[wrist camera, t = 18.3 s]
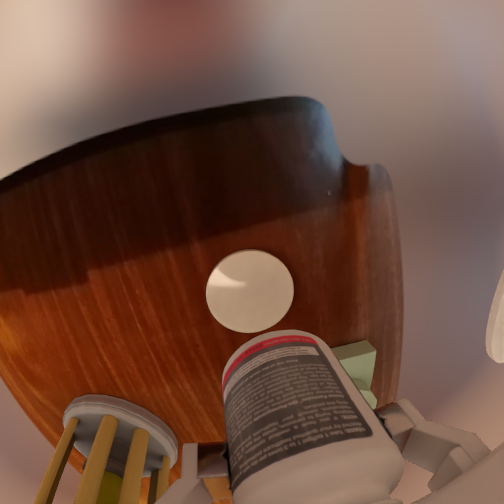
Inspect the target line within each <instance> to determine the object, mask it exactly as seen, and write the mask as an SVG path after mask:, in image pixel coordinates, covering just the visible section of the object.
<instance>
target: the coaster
mask: <svg viewBox="0 0 504 504" xmlns="http://www.w3.org/2000/svg"><path fill="white" fill-rule="evenodd" d="M293 294H294V286H293V281H292V277H291V275H290V273H289V271H288V269H287V268H286V266H285V265H284V264H283V263H282V262H281V261H280V260H279V259H278V258H277V257H275V256H274V255H272V254H270V253H268V252H265V251H261V250H254V249H248V250H241V251H237V252H234V253H232V254H230V255H228V256H226V257H225V258H223V259H222V260H221V261H220V262H219V263H218V264H217V265H216V266H215V267H214V269H213V270H212V272H211V274H210V276H209V278H208V281H207V286H206V300H207V304H208V307H209V309H210V311H211V313H212V315H213V316H214V317H215V319H216V320H217V321H218V322H219V323H221V324H222V325H223V326H225V327H227V328H229V329H231V330H234V331H237V332H243V333H252V332H259V331H262V330H265V329H267V328H270V327H271V326H273V325H275V324H276V323H277V322H279V321H280V320H281V319H282V318H283V317H284V315H285V314H286V313H287V311H288V309H289V307H290V305H291V303H292V299H293Z"/></svg>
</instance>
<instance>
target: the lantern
mask: <svg viewBox="0 0 504 504" xmlns="http://www.w3.org/2000/svg"><path fill="white" fill-rule="evenodd" d="M63 425H64V428H65V430H64V432H63V434H62V437H61V439H60V441H59V443H58V445H57V448H56V450H55V452H54V454H53V457H52V459H51V461H50V464H49V466H48V469H47V471H46V473H45V476H44V478H43V481H42V483H41V486H40V488H39V491H38V493H37V496H36V499H35V502H34V504H52V501H53V498H54V496H55V492H56V489H57V487H58V484H59V481H60V478H61V475H62V473H63V470H64V467H65V465H66V463H67V460H68V457H69V455H70V452H71V450H72V447H73V445H74V446H75V448H76V449H77V450H78V451H79V452H81V453H82V454H83V455H84V456H85V457H86V458H88V459H87V460H86V461H85V462H84V465H83V471H84V472H83V475H82V478H81V481H80V485H79V488H78V491H77V495H76V498H75V501H74V504H138V503H139V495H140V489H141V482H142V477H149V476H151V479H150V487H149V495H148V503H147V504H154V503H155V502H156V501H157V500H158V499H159V498H160V497H161V496H162V495H163V494H164V493H165V491H166V490H167V489H168V483H169V471H170V469H171V468H172V467H173V465H174V464H175V463H176V461H177V455H178V441H177V439H176V437H175V435H174V433H173V431H172V430H171V429H170V428H169V427H168V426H167V425H166V424H165V423H164V422H163V421H162V420H161V419H160V418H158V417H157V416H155V415H154V414H152V413H151V412H149V411H148V410H146V409H145V408H143V407H140V406H138V405H136V404H133V403H131V402H129V401H127V400H124V399H120V398H116V397H112V396H108V395H94V394H87V395H84V396H81V397H77V398H75V399H74V400H73V401H72V402H71V403H70V404H69V405H68V406H67V408H66V410H65V412H64V417H63Z"/></svg>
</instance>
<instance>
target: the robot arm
mask: <svg viewBox="0 0 504 504" xmlns="http://www.w3.org/2000/svg"><path fill="white" fill-rule="evenodd" d="M372 410H373V411H374V413H375V414H376V416H377V417H378V418H379V419H380V420H381V421H382V423H383V424H384V427H385V429H386V431H387V432H388V433H389V435H390V436H391V438H392V439H393V441H394V442H395V443H396V445H397V446H398V448H399V451H400V452H401V455H402V457H403V458H404V459H406V460H408V461H410V462H412V463H414V464H416V465H418V466H420V467H422V468H424V469H426V470H428V471H430V472H432V473H434V475H433V477H432V478H431V480H430V481H429V483H428V487H429V489H430V490H431V492H432V493H430V494H428V495H426V496H425V497H423V498H421V499H419V500H417V501H415V502H413V503H411V504H504V442H503V443H501V444H500V445H499V446H498V447H497V448H495V449H494V450H493V451H492V452H491V451H490V449H489V448H488V447H487V446H486V445H485V444H484V443H483V442H482V441H481V439H479V437H478V436H477V435H476V434H475V433H470V432H467V431H464V430H460V429H457V428H453V427H450V426H447V425H444V424H440V423H437V422H434V421H431V420H428V421H426V420H425V419H424V418H423V416H422V415H421V414H420V413H419V412H418V411H417V409H416V408H415V407H414V406H413V405H412V404H411V402H410V401H409V400H408V399H407V398H405V397H404V398H402V399H399V400H397V401H394V402H391V403H388V404H386V405H383V406H380V407H377V408H375V409H372ZM222 499H232V493H231V479H230V470H229V462H228V449H227V442H226V441H225V442H209V443H184V445H183V452H182V469H181V479H176V481H175V482H174V483H173V484H172V485H171V486H170V487H169V488H168V489H167V490H166V491H165V493H164V494H163V495H162V496H161V497H160V498H159V499H158V500H157V501H156V502H155V503H154V504H212V502H213V500H222Z"/></svg>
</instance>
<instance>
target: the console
mask: <svg viewBox="0 0 504 504" xmlns="http://www.w3.org/2000/svg"><path fill="white" fill-rule="evenodd" d="M331 350H332V352H333V353H334V354H335V356H336V357H337V358H338V360H339V361H340V363H341V364H342V366H343V367H344V369H345V370H346V372H347V373H348V374H349V376H350V377H351V379H352V380H353V382H354V383H355V385H356V386H357V387H358V389H359V390H360V392H361V394H362V395H363V397H364V398H365V399H366V401H367V402H368V404H369V405H370V407H371V408H372V409H375V408H376V403H377V399H376V398H375V396H374V395H373V393H372V392H371V390H370V387H371V382H372V376H373V371H374V364H375V358H376V350H375V348H374V347H373V346H372V345H371V344H370V343H369V342H368V341H367V340H364V341H360V342H356V343H352V344H348V345H344V346H339V347H335V348H331ZM225 367H226V366H225ZM225 367H224V369H225Z"/></svg>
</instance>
